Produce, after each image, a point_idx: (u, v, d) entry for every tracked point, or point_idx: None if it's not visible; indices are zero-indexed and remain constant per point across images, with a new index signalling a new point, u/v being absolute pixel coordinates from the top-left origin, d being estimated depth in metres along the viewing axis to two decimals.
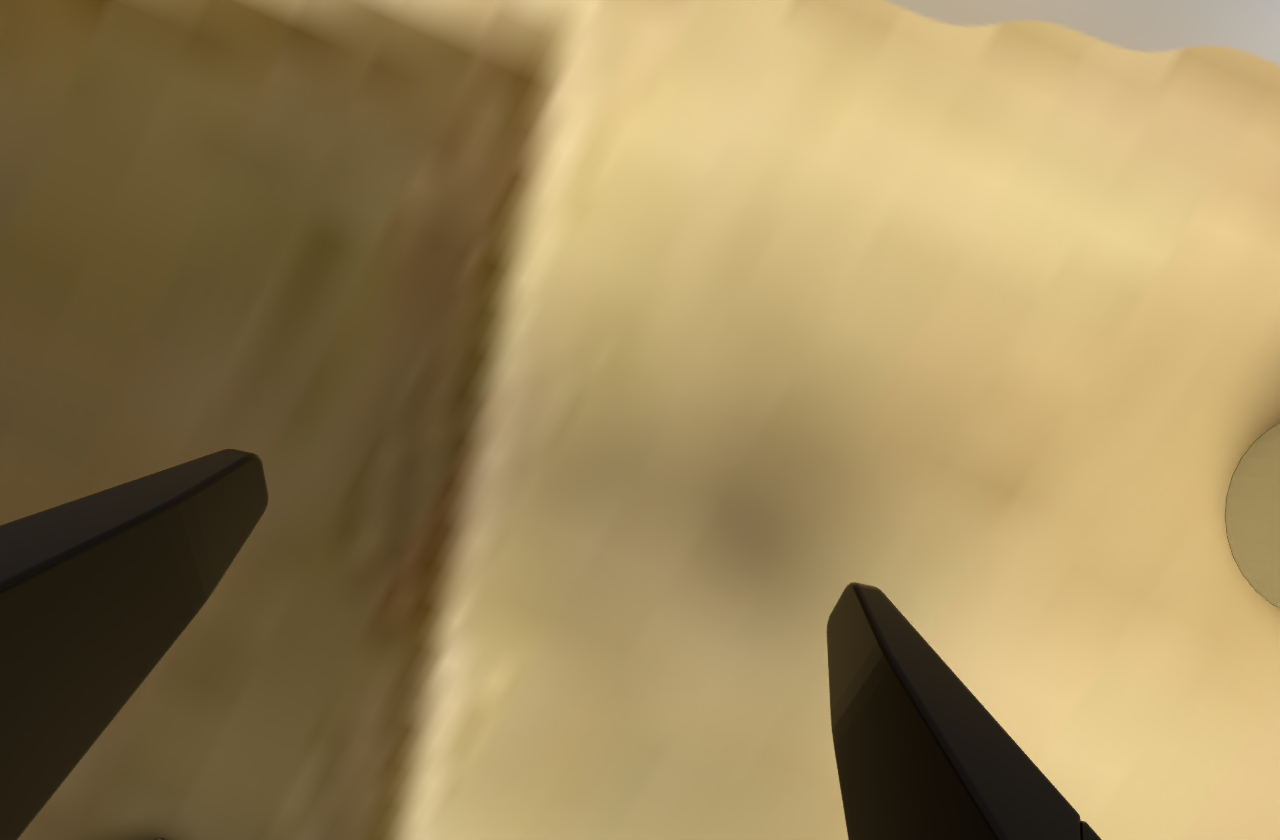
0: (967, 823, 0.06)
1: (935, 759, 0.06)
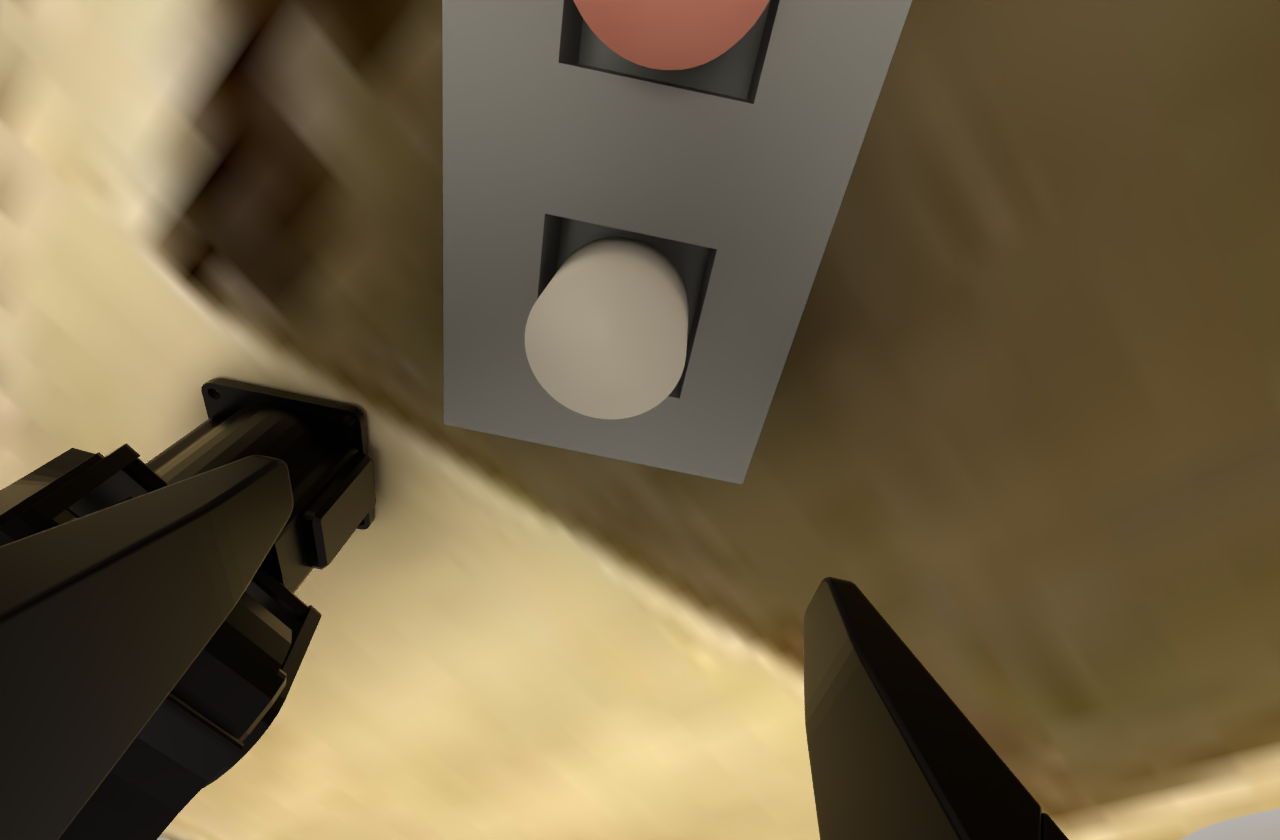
0: (928, 815, 0.05)
1: (900, 752, 0.06)
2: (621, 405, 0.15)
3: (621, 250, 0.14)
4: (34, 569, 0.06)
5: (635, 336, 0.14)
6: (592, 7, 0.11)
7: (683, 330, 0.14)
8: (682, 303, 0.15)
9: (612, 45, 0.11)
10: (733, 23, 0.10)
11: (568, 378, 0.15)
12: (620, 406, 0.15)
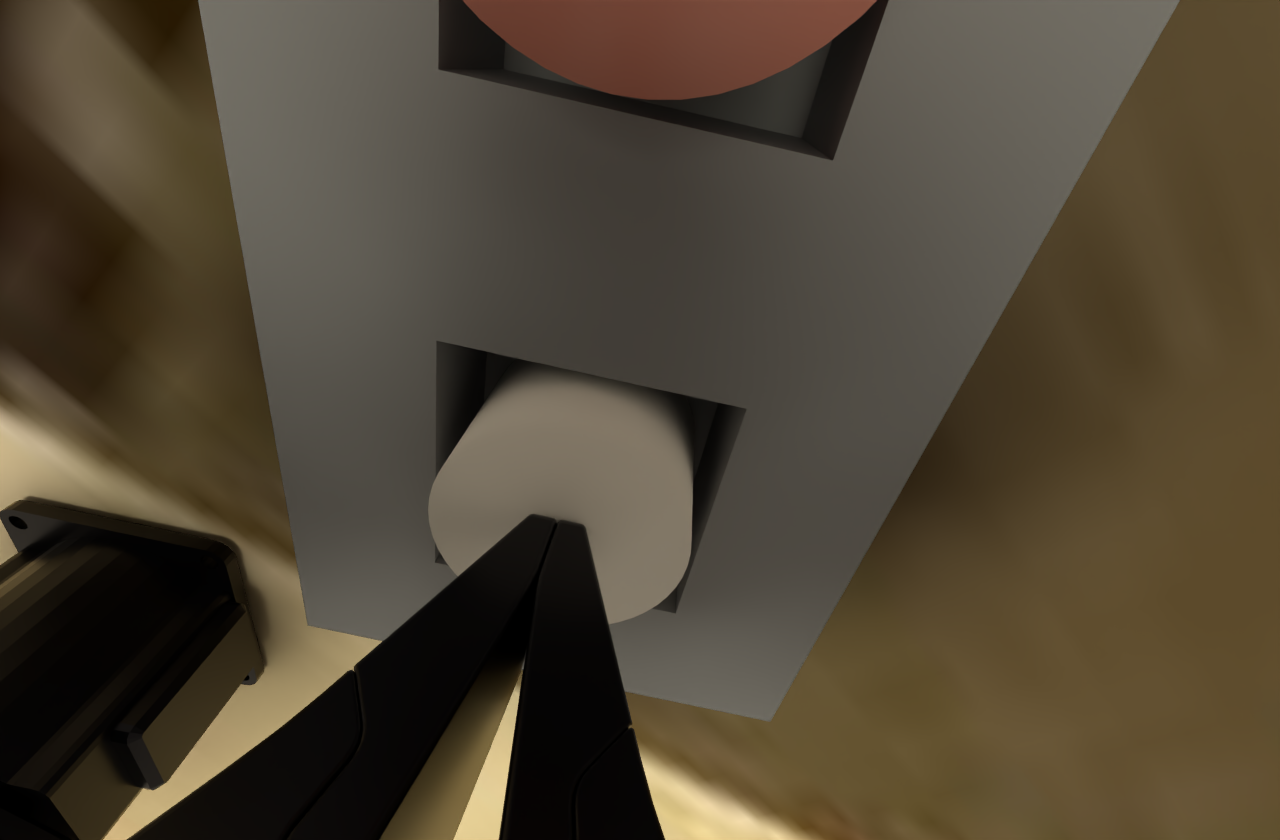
0: (515, 730, 0.05)
1: (523, 674, 0.06)
2: None
3: None
4: (443, 654, 0.06)
5: (607, 522, 0.08)
6: None
7: (687, 516, 0.08)
8: (685, 454, 0.09)
9: (510, 33, 0.04)
10: None
11: None
12: None
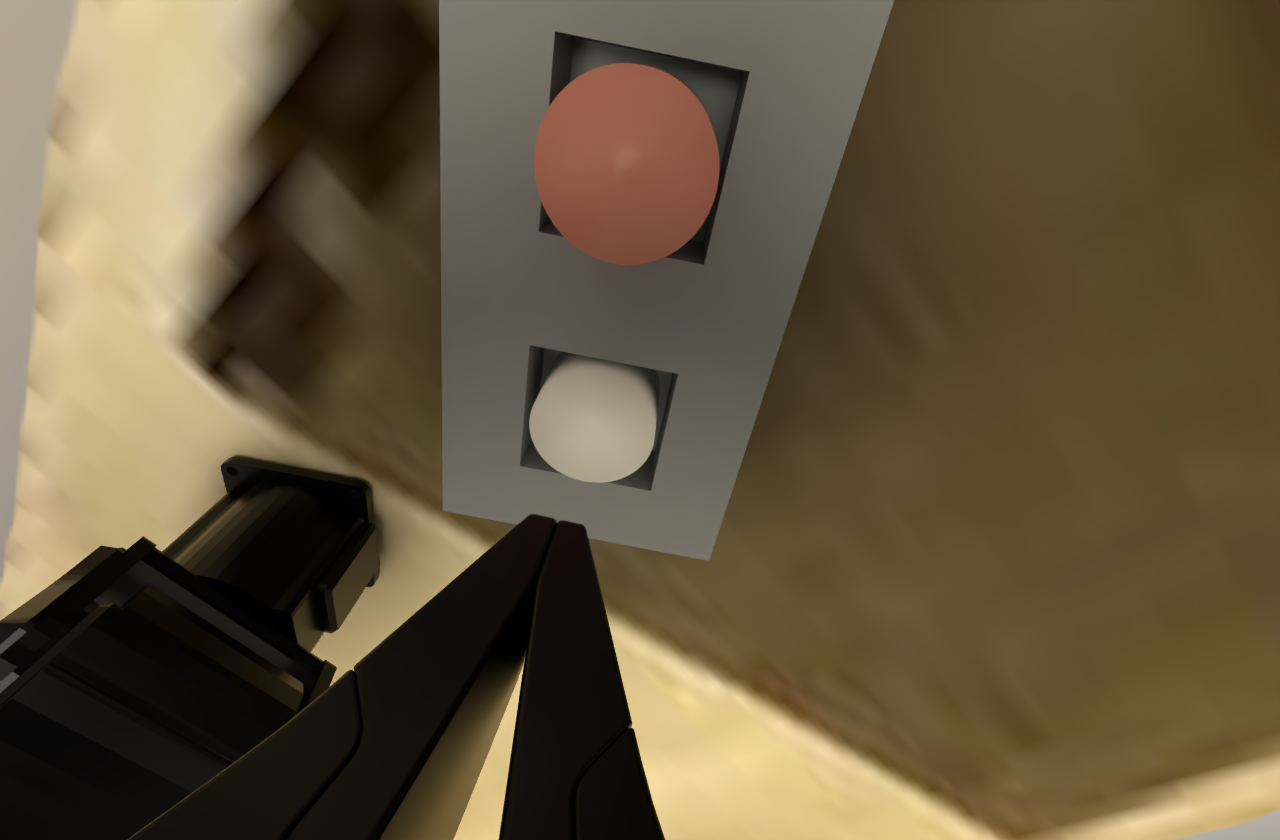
0: None
1: None
2: (605, 472, 0.19)
3: None
4: (442, 654, 0.06)
5: (614, 422, 0.18)
6: (563, 220, 0.13)
7: (652, 417, 0.18)
8: (652, 392, 0.19)
9: (580, 247, 0.13)
10: (677, 233, 0.13)
11: (563, 452, 0.19)
12: (604, 473, 0.19)
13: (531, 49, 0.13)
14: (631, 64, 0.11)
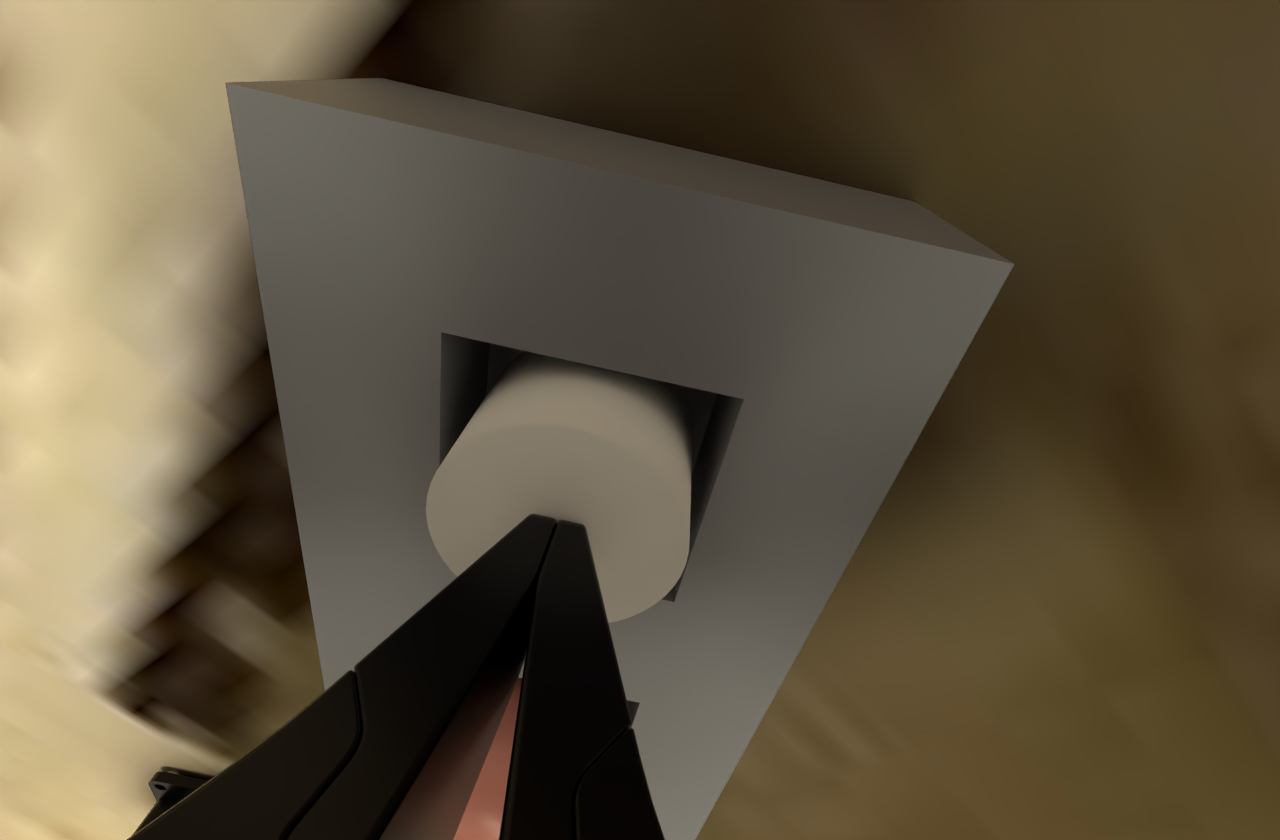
0: None
1: None
2: None
3: None
4: (443, 654, 0.06)
5: None
6: None
7: None
8: None
9: None
10: None
11: None
12: None
13: None
14: (493, 812, 0.11)
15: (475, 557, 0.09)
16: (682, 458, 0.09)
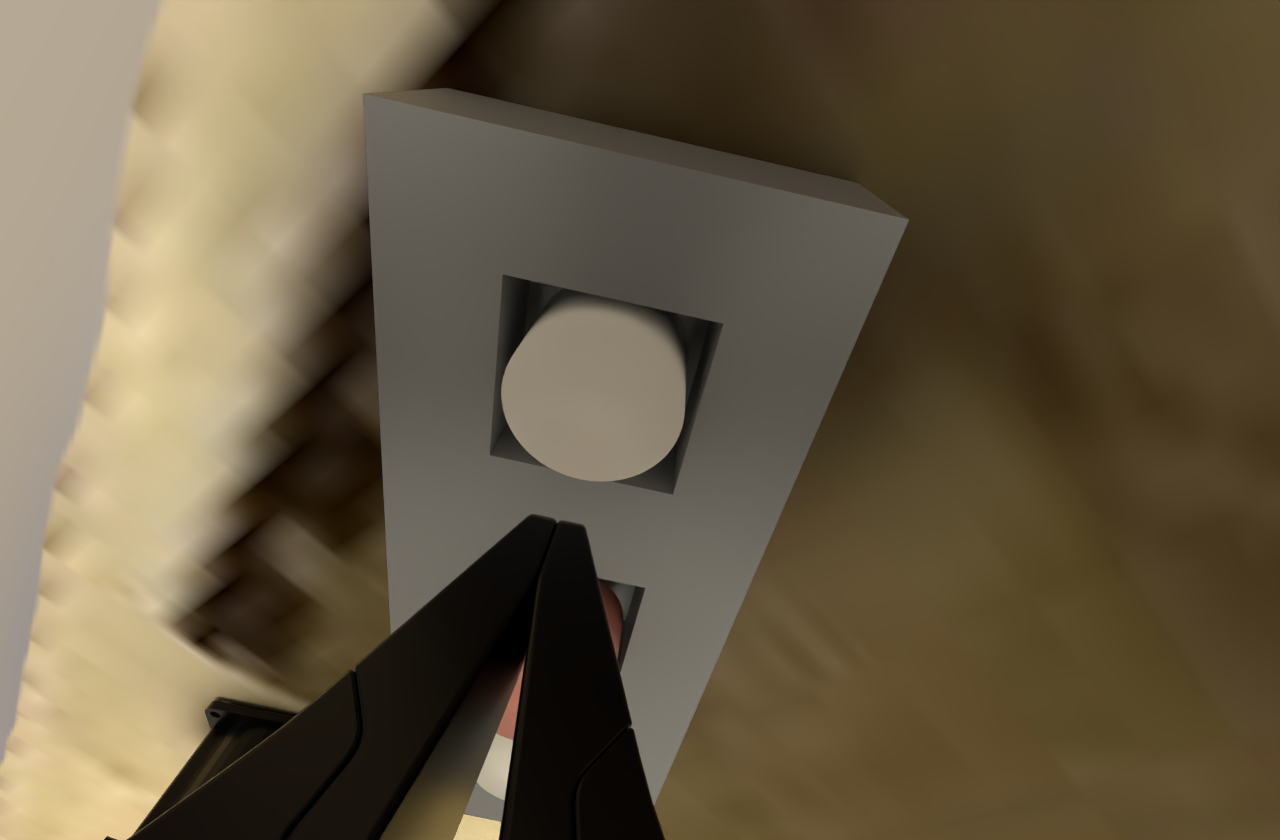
0: None
1: (523, 673, 0.06)
2: None
3: None
4: (443, 653, 0.06)
5: None
6: None
7: None
8: None
9: None
10: None
11: (501, 787, 0.21)
12: None
13: (463, 561, 0.16)
14: None
15: (533, 426, 0.13)
16: (680, 355, 0.13)
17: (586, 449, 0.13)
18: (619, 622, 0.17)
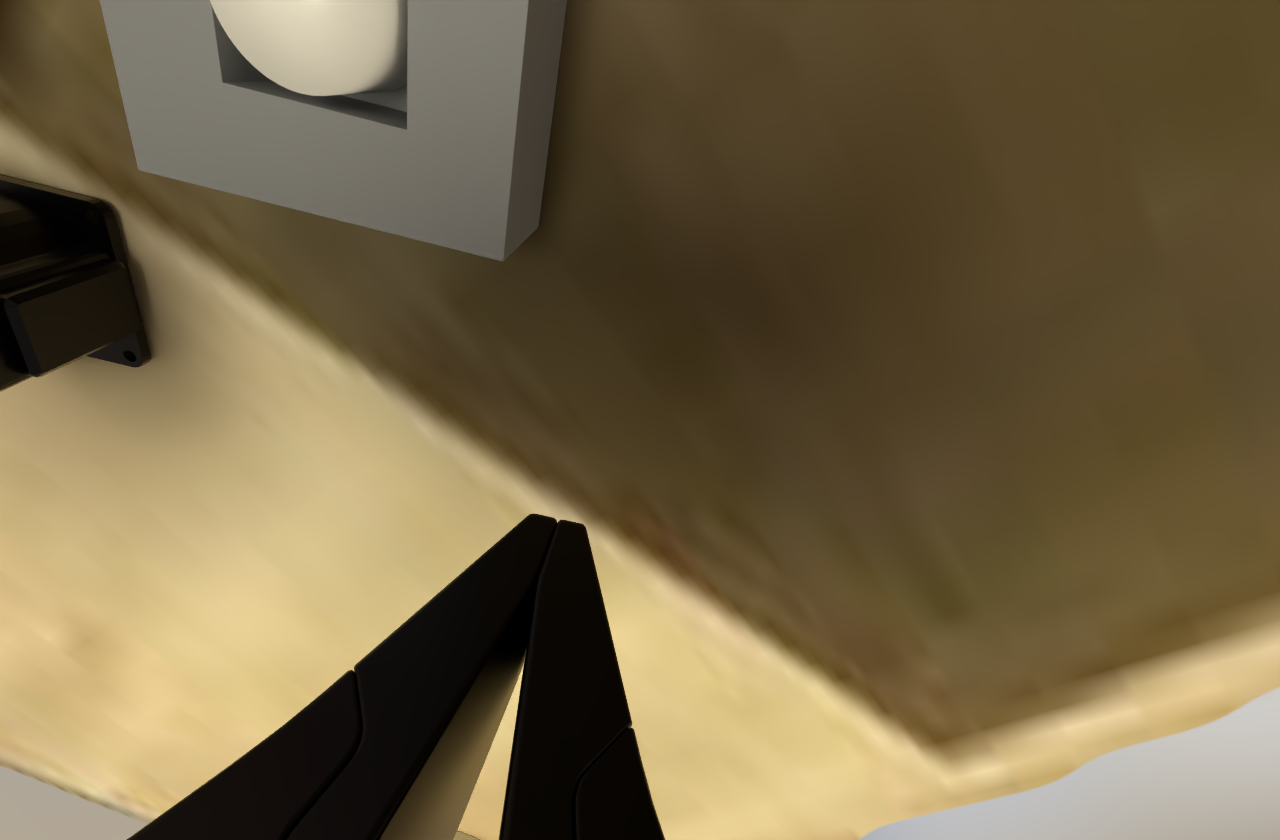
0: None
1: None
2: (326, 74, 0.13)
3: None
4: (443, 654, 0.06)
5: None
6: None
7: None
8: None
9: None
10: None
11: (262, 34, 0.13)
12: (325, 75, 0.13)
13: None
14: None
15: None
16: None
17: None
18: None
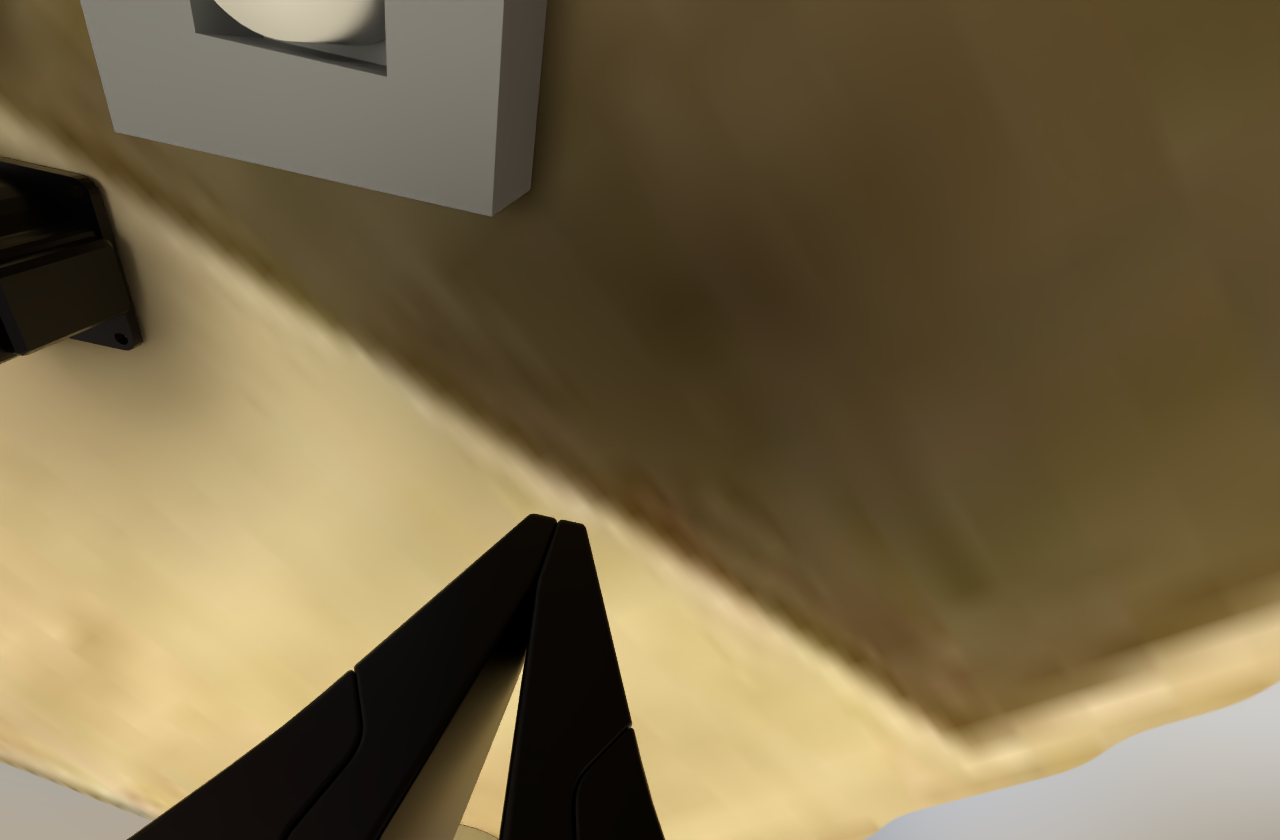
0: None
1: (523, 673, 0.06)
2: (300, 17, 0.13)
3: None
4: (443, 654, 0.06)
5: None
6: None
7: None
8: None
9: None
10: None
11: None
12: (299, 18, 0.13)
13: None
14: None
15: None
16: None
17: None
18: None
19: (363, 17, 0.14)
